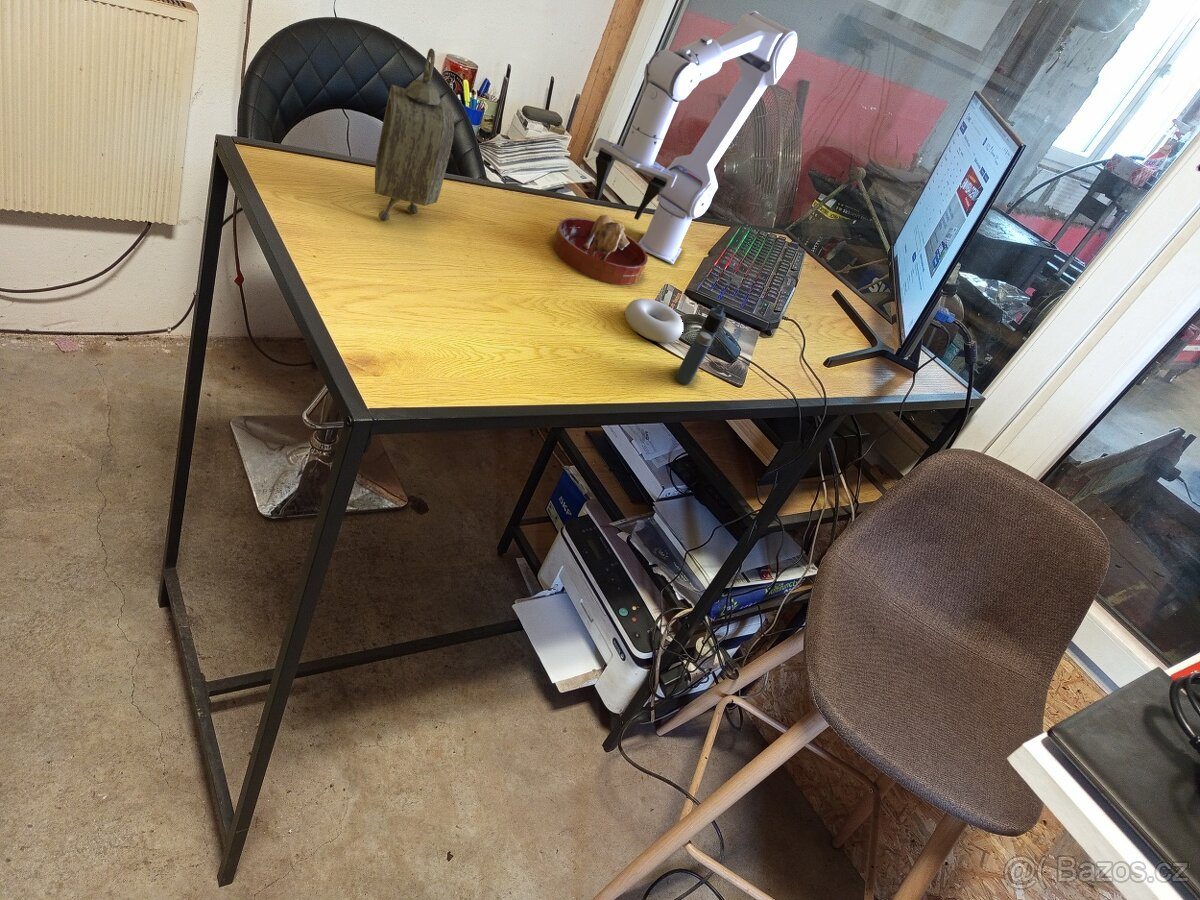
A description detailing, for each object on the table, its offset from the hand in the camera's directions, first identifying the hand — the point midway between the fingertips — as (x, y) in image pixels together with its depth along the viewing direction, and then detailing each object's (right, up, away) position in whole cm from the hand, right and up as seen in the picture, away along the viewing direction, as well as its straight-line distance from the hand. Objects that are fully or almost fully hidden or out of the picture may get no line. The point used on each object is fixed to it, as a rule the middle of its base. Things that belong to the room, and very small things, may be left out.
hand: (616, 208), depth 134 cm
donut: (+5, -22, -8) cm, 24 cm away
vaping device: (+10, -31, -16) cm, 36 cm away
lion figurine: (-4, -7, +6) cm, 10 cm away
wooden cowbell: (-36, -3, -8) cm, 37 cm away
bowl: (-4, -7, +6) cm, 10 cm away
